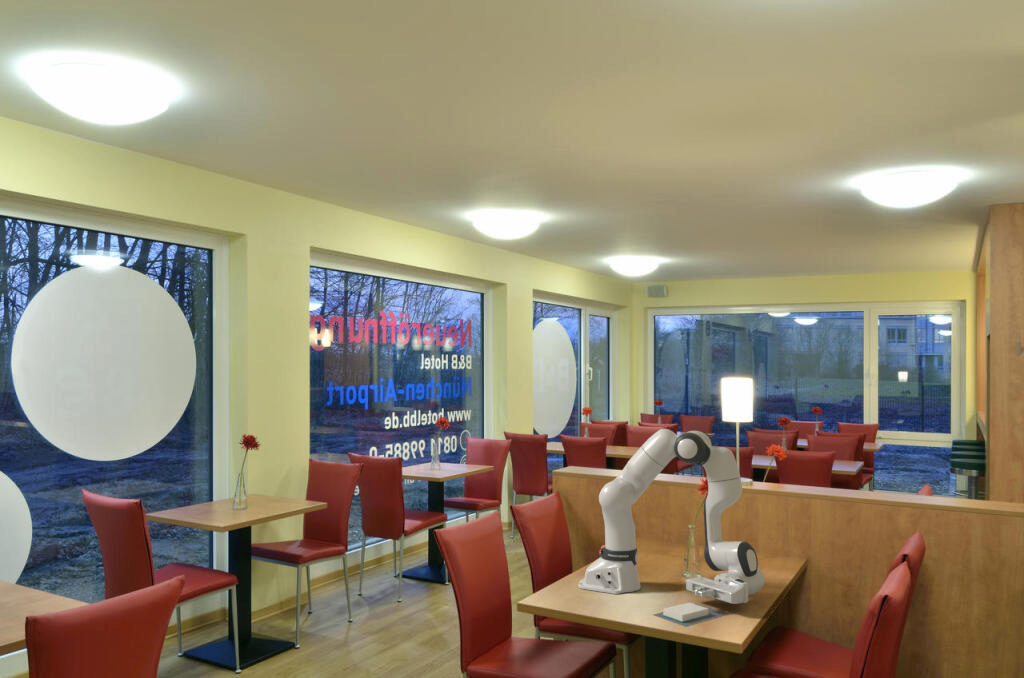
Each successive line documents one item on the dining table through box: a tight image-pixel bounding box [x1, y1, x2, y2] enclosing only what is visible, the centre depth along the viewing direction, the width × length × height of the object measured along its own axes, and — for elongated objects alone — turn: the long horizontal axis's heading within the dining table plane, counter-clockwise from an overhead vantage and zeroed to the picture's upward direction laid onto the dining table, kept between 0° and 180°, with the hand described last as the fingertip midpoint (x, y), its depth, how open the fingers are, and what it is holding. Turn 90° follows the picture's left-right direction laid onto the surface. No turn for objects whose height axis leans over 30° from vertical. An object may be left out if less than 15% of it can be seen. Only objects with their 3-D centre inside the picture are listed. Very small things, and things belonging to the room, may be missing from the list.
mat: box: [653, 603, 730, 628], centre depth 242 cm, size 20×14×1 cm
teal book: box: [662, 602, 709, 622], centre depth 241 cm, size 2×8×12 cm
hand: (698, 593), depth 245 cm, fingers closed
